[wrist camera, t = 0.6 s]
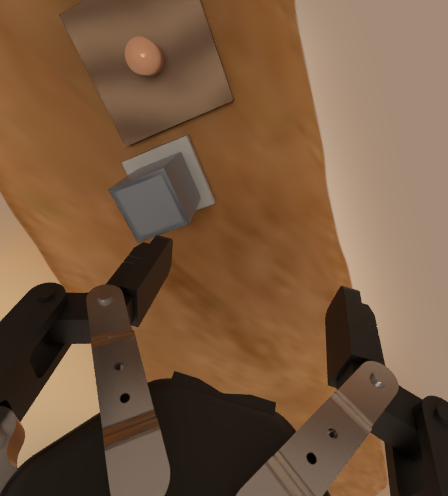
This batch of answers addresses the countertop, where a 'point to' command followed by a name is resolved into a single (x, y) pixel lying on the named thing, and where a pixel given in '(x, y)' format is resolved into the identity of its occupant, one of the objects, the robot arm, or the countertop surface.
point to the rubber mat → (190, 159)
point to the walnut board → (141, 86)
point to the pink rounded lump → (144, 56)
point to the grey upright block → (157, 197)
